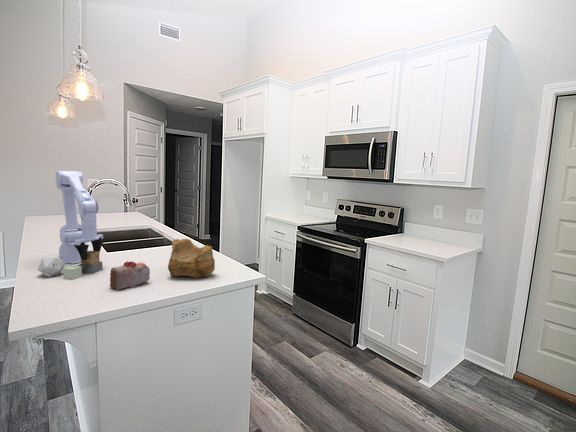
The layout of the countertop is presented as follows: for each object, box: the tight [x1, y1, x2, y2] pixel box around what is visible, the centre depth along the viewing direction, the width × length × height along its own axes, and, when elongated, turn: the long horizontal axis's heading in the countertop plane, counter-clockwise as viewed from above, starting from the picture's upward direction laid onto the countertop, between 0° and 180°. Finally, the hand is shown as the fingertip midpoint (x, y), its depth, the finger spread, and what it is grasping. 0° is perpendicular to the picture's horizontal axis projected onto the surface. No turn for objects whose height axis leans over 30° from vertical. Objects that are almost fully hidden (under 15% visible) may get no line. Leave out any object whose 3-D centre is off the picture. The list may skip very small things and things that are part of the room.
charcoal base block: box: [78, 261, 103, 275], centre depth 145 cm, size 6×6×4 cm
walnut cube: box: [80, 250, 101, 265], centre depth 145 cm, size 5×5×5 cm
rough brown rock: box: [167, 238, 216, 279], centre depth 145 cm, size 23×17×15 cm
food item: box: [109, 261, 151, 291], centre depth 130 cm, size 14×8×10 cm, turn 144°
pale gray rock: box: [37, 254, 67, 278], centre depth 138 cm, size 8×9×10 cm
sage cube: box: [62, 265, 83, 281], centre depth 137 cm, size 4×4×4 cm
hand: (90, 257), depth 145 cm, fingers open, 7 cm apart
